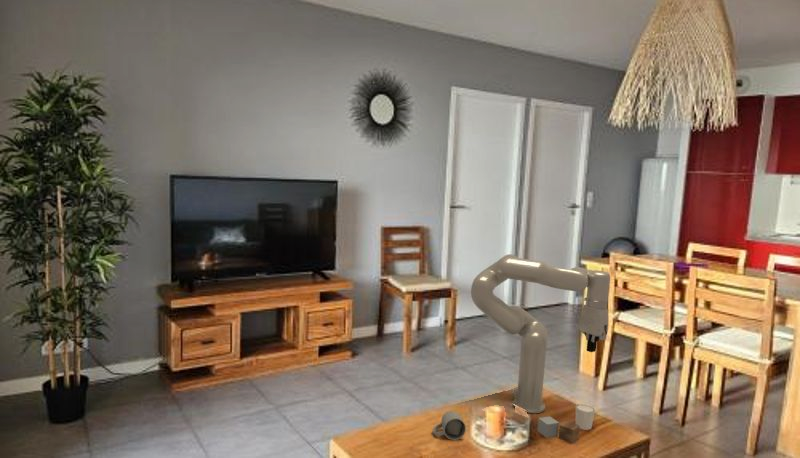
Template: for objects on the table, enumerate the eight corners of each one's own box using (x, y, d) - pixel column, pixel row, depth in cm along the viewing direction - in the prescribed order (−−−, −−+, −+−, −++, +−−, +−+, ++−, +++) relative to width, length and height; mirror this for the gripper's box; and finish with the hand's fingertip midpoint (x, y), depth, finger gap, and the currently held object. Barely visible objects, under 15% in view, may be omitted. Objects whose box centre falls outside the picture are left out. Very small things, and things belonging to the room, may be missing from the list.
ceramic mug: (460, 428, 192) (461, 408, 191) (465, 440, 184) (466, 418, 183) (430, 429, 191) (431, 408, 190) (434, 440, 183) (435, 419, 182)
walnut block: (558, 438, 189) (559, 424, 188) (565, 433, 193) (566, 420, 192) (572, 443, 186) (573, 430, 185) (578, 439, 189) (579, 425, 189)
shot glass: (597, 429, 197) (599, 411, 196) (582, 431, 195) (584, 413, 194) (584, 420, 204) (586, 403, 203) (569, 423, 201) (571, 405, 200)
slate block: (537, 431, 193) (538, 418, 193) (548, 429, 195) (550, 416, 195) (546, 438, 189) (547, 424, 188) (557, 436, 191) (559, 422, 190)
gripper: (573, 299, 206) (568, 346, 208) (606, 309, 194) (600, 359, 196) (586, 298, 210) (581, 343, 212) (620, 308, 198) (614, 356, 200)
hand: (590, 351), depth 204 cm, fingers closed
